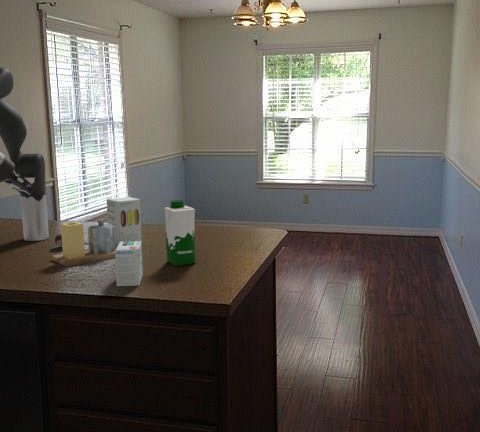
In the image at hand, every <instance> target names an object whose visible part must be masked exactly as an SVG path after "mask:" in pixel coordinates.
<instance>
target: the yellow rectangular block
mask: <svg viewBox="0 0 480 432" xmlns="http://www.w3.org/2000/svg"><path fill="white" fill-rule="evenodd" d="M60 230H61V232H60V233H61V234H62V246H61V248H62V254H63V257H66V258H69V259H74V258H79V257H84V256H85V250H86V249H85V236H84V233H85V232H84V223H82V222H79V221H73V222H72V221H71V222H64V223H60Z"/></svg>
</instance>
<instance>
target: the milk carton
mask: <svg viewBox="0 0 480 432" xmlns="http://www.w3.org/2000/svg"><path fill="white" fill-rule="evenodd" d="M195 215H196V209H195V208H193V207H191V206H188V205H184V200H181V199H178V200H177V199H176V200H171V201H170V206H168V207H166V206H165V207H164V217H165V239H166V241H165V242H166V243H165V244H166V258H167V260H166V261H167V262H168V263H169V262H170V263H169V264H171V263H172V264H171V265H173V266H174V265H175V266H174V267H178V266H177V265H181V266H186V265H185V264H188V265H193V264H192V263H195V264H196V242H195V241H196V238H195V237H196V235H195V231H196V230H195V228H196V227H195Z"/></svg>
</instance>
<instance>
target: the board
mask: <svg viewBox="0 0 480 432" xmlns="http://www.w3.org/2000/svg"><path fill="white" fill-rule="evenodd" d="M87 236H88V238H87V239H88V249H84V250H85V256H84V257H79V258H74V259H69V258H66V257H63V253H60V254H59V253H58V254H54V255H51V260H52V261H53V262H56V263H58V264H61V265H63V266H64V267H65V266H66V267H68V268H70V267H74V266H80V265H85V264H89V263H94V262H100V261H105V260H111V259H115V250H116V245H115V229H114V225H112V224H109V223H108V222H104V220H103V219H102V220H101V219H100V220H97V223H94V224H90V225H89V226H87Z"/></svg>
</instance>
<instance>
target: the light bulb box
mask: <svg viewBox="0 0 480 432" xmlns="http://www.w3.org/2000/svg"><path fill="white" fill-rule="evenodd" d="M115 249H116V250H115V258H114V259H115V260H114V261H115V263H114V264H115V278H116V279H115V280H116V287H135V286H136V287H137V286H138V287H139V286H140V284H141V280H142V278H143V257H142V256H143V252H142V250H143V249H142V240H141V241H128V242H119V244H118V246H117V245H116V247H115Z"/></svg>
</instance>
